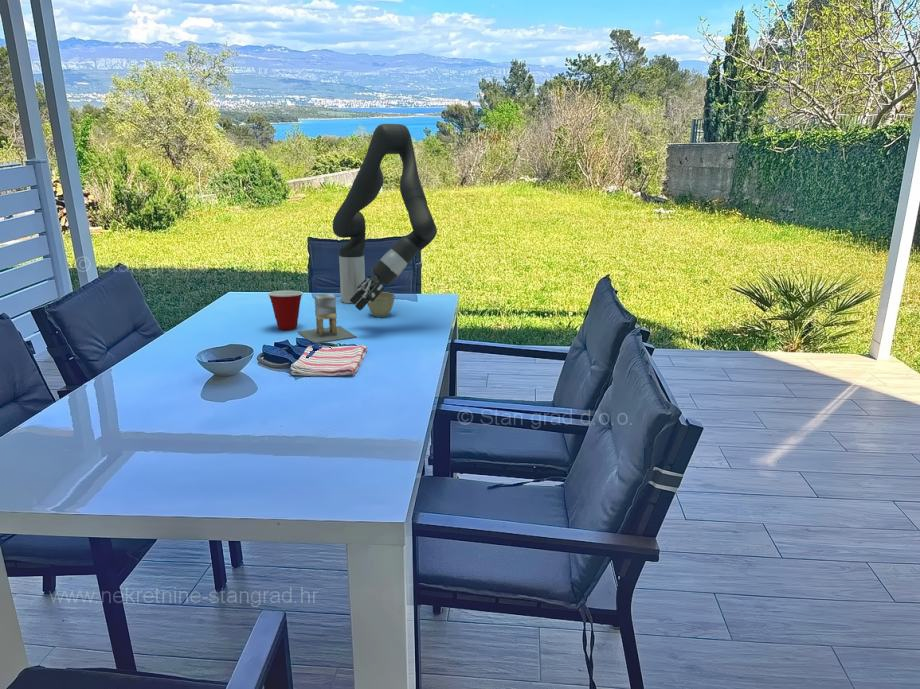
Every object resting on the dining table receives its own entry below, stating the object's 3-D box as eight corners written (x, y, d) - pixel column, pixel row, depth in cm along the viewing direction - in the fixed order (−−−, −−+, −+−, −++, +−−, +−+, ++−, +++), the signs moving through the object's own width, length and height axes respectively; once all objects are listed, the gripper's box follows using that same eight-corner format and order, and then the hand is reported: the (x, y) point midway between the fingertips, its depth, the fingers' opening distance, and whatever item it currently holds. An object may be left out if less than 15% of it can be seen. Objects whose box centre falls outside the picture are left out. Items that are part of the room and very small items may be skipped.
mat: (297, 332, 210) (297, 331, 210) (339, 327, 217) (339, 325, 217) (312, 343, 199) (312, 342, 198) (356, 337, 205) (356, 336, 205)
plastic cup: (309, 324, 220) (307, 288, 216) (298, 333, 210) (296, 295, 206) (277, 323, 221) (275, 287, 217) (265, 331, 211) (262, 294, 207)
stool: (334, 330, 211) (332, 293, 208) (337, 335, 206) (335, 297, 203) (316, 332, 209) (314, 294, 206) (319, 337, 204) (317, 298, 201)
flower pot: (362, 313, 235) (361, 293, 233) (389, 310, 239) (389, 291, 237) (371, 320, 226) (370, 299, 224) (399, 317, 230) (398, 296, 228)
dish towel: (288, 378, 171) (287, 365, 170) (309, 351, 193) (309, 339, 192) (354, 379, 171) (354, 366, 170) (368, 352, 193) (368, 340, 192)
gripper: (375, 255, 214) (341, 293, 213) (386, 262, 201) (350, 302, 200) (392, 271, 217) (358, 308, 216) (404, 279, 204) (368, 318, 203)
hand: (354, 305), depth 208 cm, fingers open, 8 cm apart
